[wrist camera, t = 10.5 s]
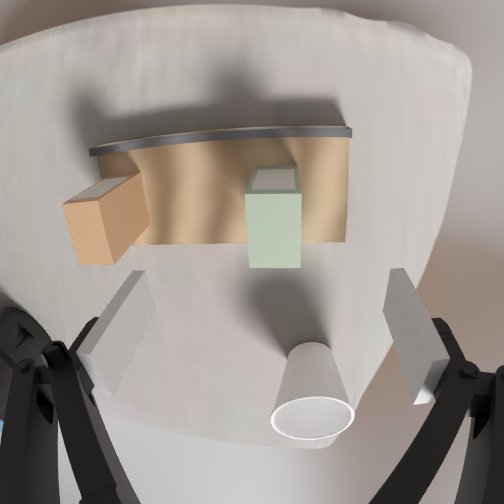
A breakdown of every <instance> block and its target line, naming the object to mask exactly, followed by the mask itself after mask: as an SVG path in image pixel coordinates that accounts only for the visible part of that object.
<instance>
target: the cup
mask: <svg viewBox="0 0 504 504" xmlns="http://www.w3.org/2000/svg"><path fill="white" fill-rule="evenodd" d="M354 415H355V412H354V409H353V407H352V406H351V405H350V403H349V400H348V397H347V394H346V391H345V388H344V386H343V383H342V380H341V377H340V374H339V371H338V368H337V366H336V363H335V360H334V357H333V354H332V351H331V350H330V348H328V347H327V346H326V345H324V344H321V343H318V342H306V343H302V344H299V345H297V346H296V347H294V348H293V349H292V350H291V351H290V353H289V355H288V359H287V363H286V367H285V371H284V375H283V378H282V383H281V386H280V390H279V393H278V397H277V400H276V404H275V407H274V410H273V411H272V413H271V415H270V422H271V425H272V427H273V428H274V429H275V430H276V431H277V432H279V433H281V434H282V435H285V436H287V437H291V438H295V439H302V440H313V439H321V438H326V437H330V436H333V435H335V434H338V433H340V432H341V431H343V430H344V429H346V428H347V427H348V426H349V425H350V424H351V423H352V421H353V419H354Z"/></svg>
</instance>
